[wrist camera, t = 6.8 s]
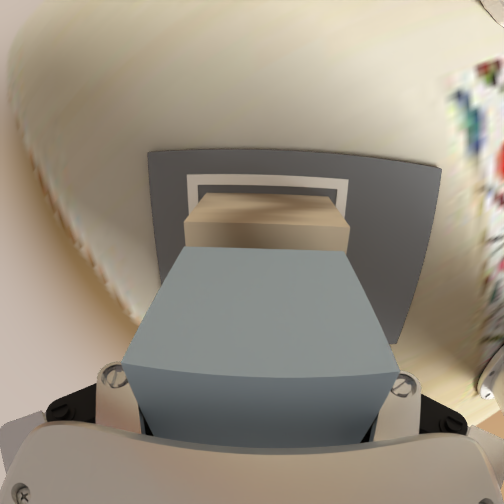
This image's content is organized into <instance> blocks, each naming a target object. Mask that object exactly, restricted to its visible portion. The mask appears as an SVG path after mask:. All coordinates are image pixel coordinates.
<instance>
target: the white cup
mask: <svg viewBox="0 0 504 504" xmlns="http://www.w3.org/2000/svg"><path fill="white" fill-rule="evenodd" d="M480 1H481V3H482V4H483V6H484V8H485V9H486V10H487V11H488V12H489V13H490V15H491V16H492V17H493V18H494V19H495V20H496V22H497V23H498V24H500V25H501V26H503V27H504V0H480Z"/></svg>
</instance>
